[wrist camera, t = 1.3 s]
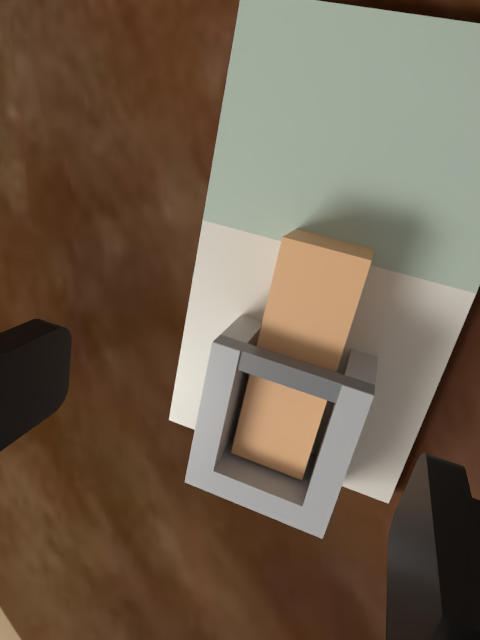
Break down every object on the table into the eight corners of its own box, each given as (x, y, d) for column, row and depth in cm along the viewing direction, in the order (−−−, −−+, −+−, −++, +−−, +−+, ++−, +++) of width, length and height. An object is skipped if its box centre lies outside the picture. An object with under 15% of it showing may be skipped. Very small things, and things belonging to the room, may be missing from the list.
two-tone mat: (573, 44, 18) (638, -2, 13) (388, 492, 27) (386, 565, 22) (248, -3, 21) (204, -55, 17) (175, 412, 30) (132, 460, 25)
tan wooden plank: (374, 249, 22) (371, 260, 19) (311, 448, 27) (302, 480, 24) (295, 228, 23) (282, 236, 20) (247, 424, 27) (231, 452, 25)
